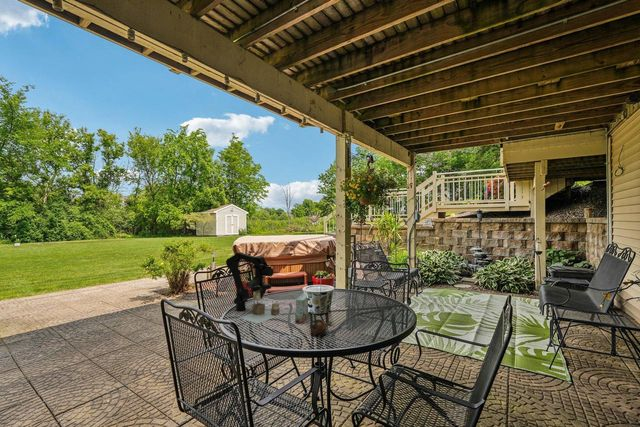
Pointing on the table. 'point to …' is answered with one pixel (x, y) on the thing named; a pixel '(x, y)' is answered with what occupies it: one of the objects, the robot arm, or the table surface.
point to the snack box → (301, 309)
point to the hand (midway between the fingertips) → (258, 297)
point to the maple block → (257, 295)
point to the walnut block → (258, 309)
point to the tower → (275, 309)
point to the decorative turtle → (318, 327)
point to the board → (258, 317)
